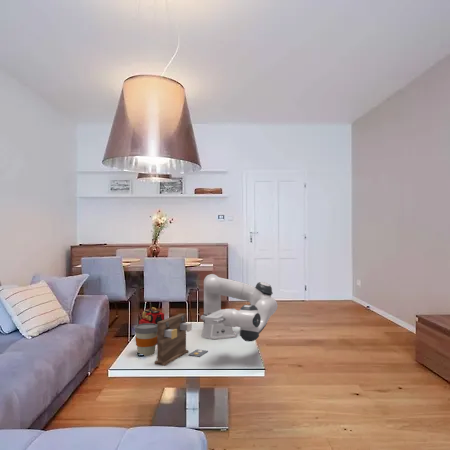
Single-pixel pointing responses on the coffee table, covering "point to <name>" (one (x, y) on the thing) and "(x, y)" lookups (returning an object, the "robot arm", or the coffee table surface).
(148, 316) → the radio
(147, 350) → the reusable coffee cup
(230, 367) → the coffee table surface
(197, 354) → the card
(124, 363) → the coffee table surface
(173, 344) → the panel
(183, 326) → the off-white rectangular block
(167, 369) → the coffee table surface
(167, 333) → the yellow and grey block
